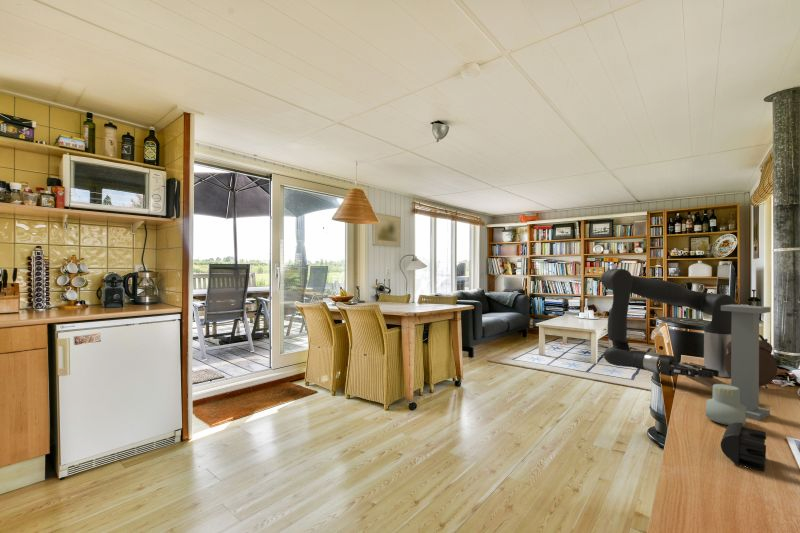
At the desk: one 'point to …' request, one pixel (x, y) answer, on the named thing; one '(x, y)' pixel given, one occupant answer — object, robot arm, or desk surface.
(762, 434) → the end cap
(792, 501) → the desk surface
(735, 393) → the air freshener
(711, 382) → the mallet
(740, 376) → the stand
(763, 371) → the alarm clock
